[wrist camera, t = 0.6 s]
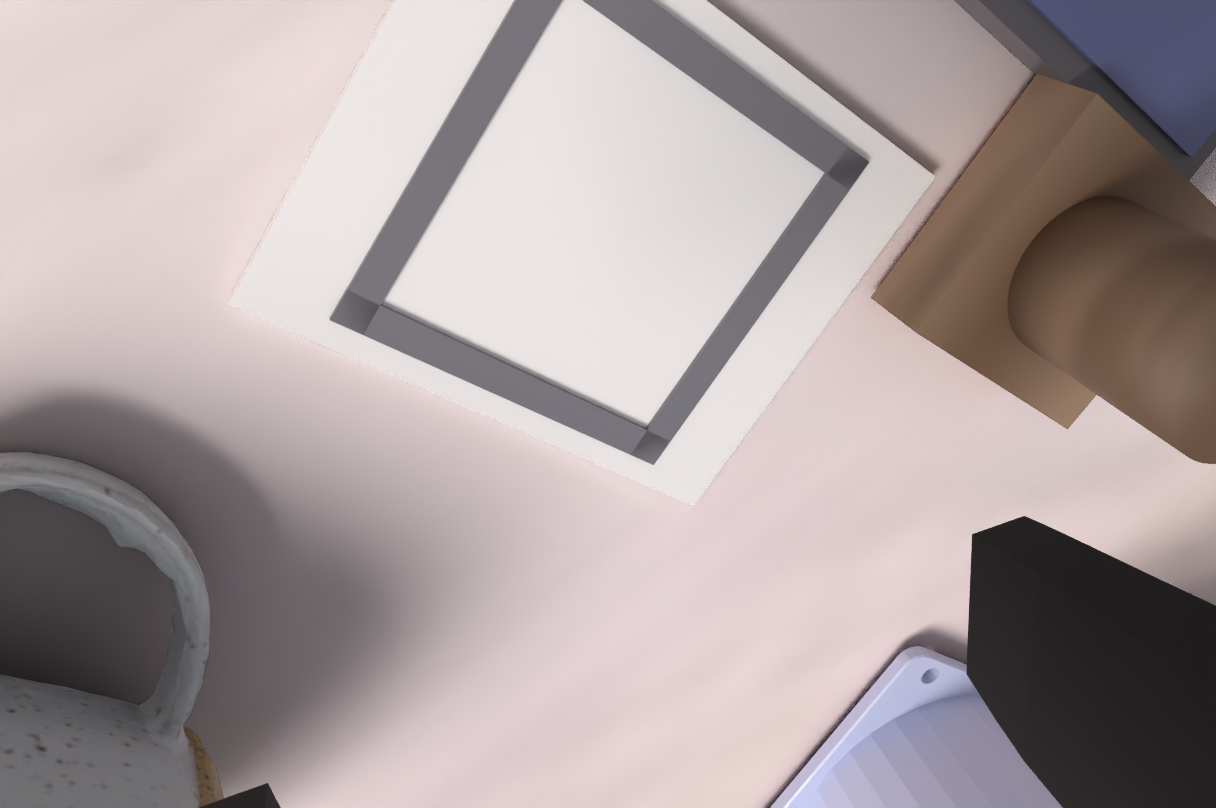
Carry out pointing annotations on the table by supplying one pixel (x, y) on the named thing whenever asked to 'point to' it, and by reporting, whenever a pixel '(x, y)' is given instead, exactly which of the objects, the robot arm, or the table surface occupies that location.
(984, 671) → the robot arm
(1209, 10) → the ink pad
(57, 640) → the table surface
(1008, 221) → the stamp
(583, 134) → the paper
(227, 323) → the table surface
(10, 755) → the ceramic mug
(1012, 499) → the table surface
